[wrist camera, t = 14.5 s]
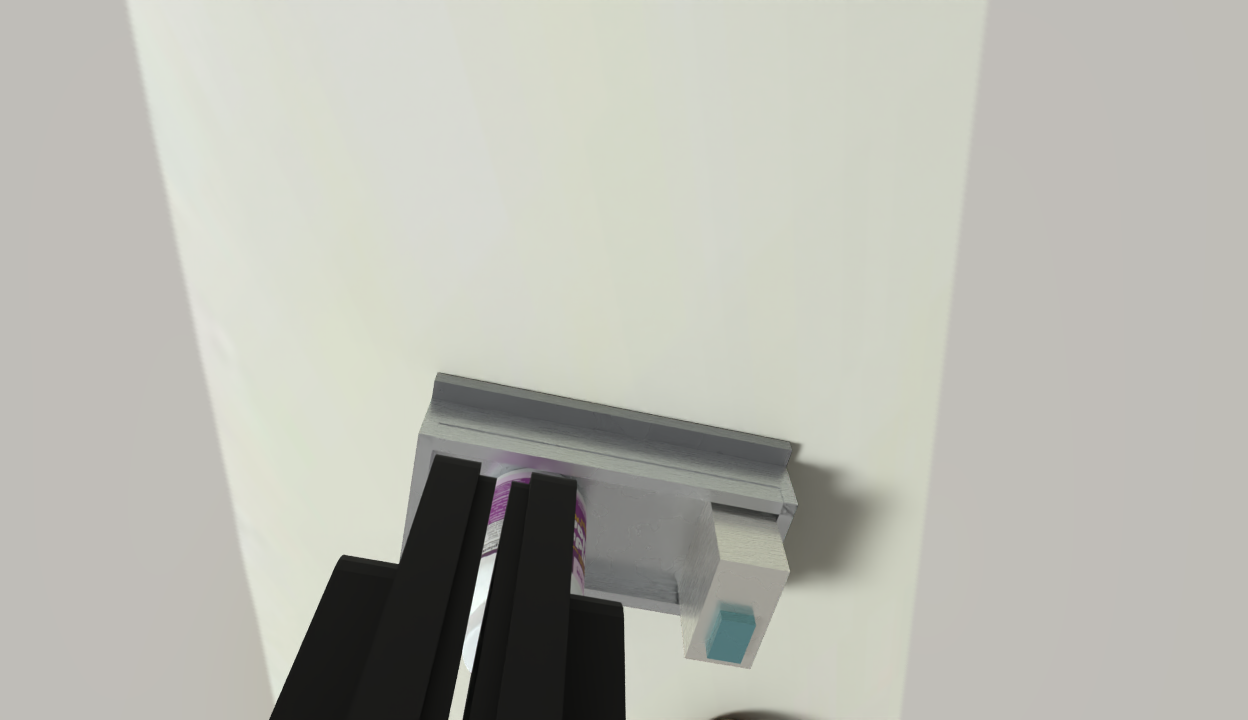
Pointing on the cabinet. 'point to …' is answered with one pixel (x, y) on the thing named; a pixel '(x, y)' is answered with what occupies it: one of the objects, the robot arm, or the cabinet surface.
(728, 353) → the cabinet surface
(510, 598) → the robot arm
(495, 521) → the pill bottle
